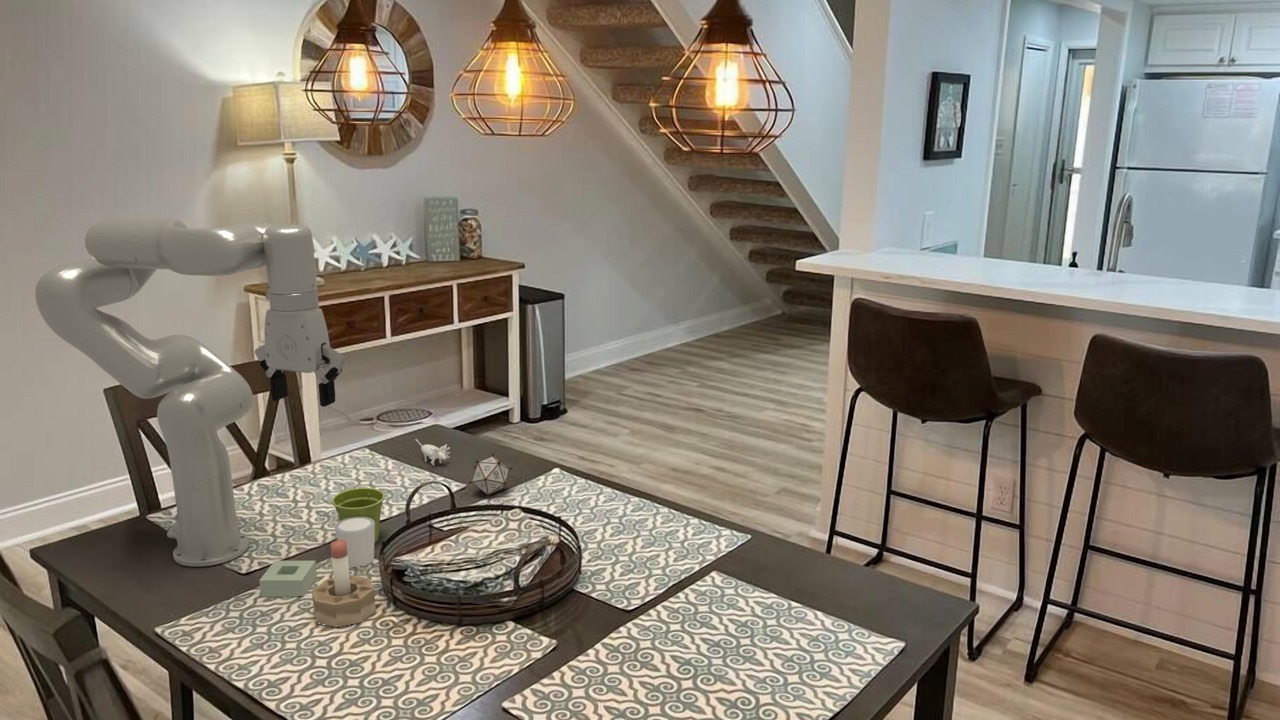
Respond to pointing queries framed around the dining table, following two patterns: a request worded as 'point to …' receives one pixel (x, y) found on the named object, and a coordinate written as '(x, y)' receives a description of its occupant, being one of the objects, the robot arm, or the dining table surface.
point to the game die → (490, 475)
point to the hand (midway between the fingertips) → (303, 401)
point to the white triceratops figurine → (434, 452)
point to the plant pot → (360, 505)
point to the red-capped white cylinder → (340, 568)
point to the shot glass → (357, 539)
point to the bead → (344, 602)
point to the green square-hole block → (288, 578)
